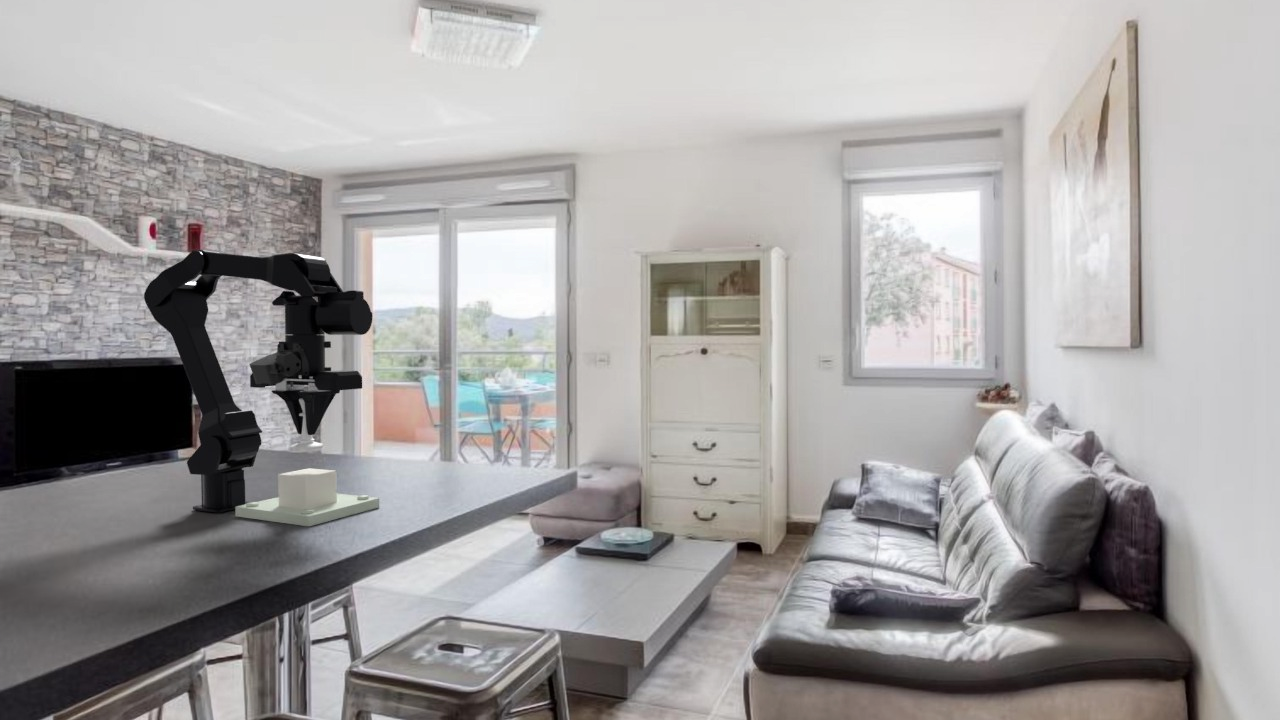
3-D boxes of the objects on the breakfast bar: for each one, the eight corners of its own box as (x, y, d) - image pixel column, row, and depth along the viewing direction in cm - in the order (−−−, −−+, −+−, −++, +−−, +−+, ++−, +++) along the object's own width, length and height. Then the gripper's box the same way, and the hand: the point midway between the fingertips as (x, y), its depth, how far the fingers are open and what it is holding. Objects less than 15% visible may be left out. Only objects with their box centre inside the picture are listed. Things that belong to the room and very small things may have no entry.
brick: (278, 506, 121) (277, 474, 120) (310, 498, 126) (309, 468, 126) (306, 509, 118) (305, 476, 118) (336, 501, 123) (336, 470, 123)
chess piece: (311, 452, 119) (309, 387, 119) (282, 452, 120) (281, 387, 120) (330, 448, 124) (329, 385, 123) (302, 447, 125) (301, 385, 124)
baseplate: (235, 516, 121) (235, 504, 120) (309, 499, 133) (309, 488, 133) (308, 526, 114) (308, 513, 113) (379, 507, 126) (379, 495, 126)
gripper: (217, 335, 118) (219, 437, 118) (305, 335, 110) (306, 444, 110) (280, 335, 128) (281, 429, 128) (364, 335, 120) (365, 435, 120)
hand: (306, 434), depth 122 cm, fingers closed on chess piece
